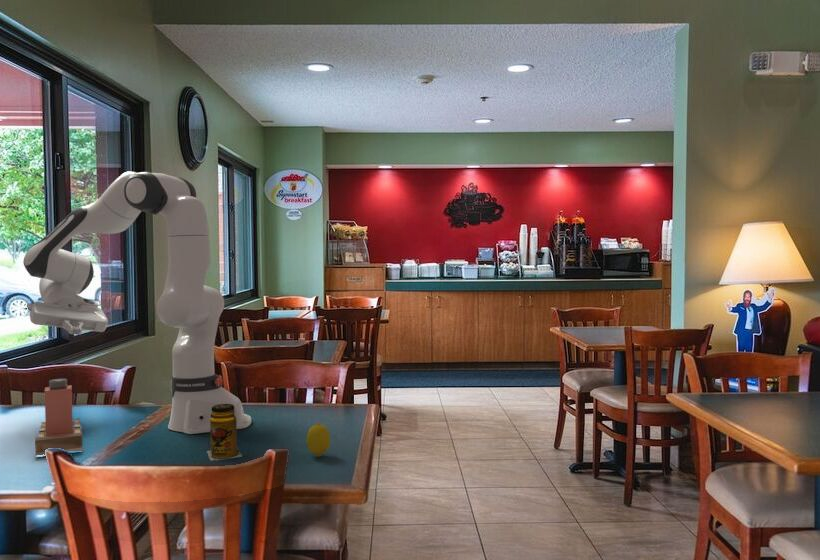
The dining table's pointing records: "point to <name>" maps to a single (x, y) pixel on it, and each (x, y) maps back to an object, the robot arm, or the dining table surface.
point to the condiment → (223, 433)
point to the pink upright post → (58, 408)
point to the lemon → (318, 439)
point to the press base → (59, 440)
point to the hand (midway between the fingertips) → (76, 332)
